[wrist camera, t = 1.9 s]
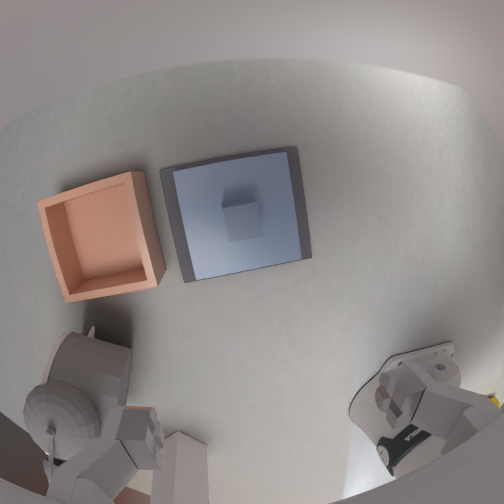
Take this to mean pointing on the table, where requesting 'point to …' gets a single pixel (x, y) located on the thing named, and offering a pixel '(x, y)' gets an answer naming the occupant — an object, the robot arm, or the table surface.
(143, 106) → the table surface
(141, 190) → the dish
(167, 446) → the milk
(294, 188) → the mat
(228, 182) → the lid
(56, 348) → the alarm clock
